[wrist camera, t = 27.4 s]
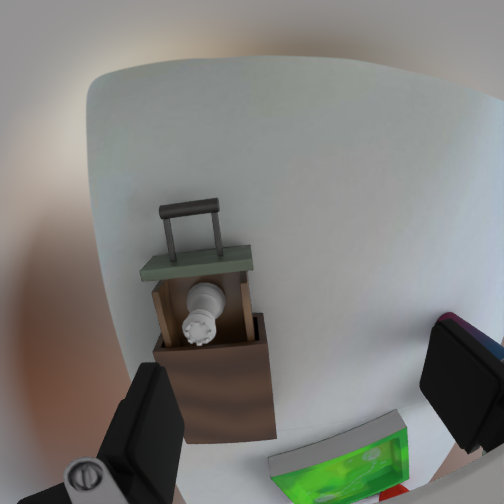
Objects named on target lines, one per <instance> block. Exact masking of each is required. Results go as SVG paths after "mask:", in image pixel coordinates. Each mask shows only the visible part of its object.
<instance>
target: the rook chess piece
mask: <svg viewBox="0 0 504 504" xmlns="http://www.w3.org/2000/svg"><path fill="white" fill-rule="evenodd" d="M186 302H187V309H188V310H189V312H190V314H189V315H188V317H187V318H186V319H185V320H184V322H183V326H182V328H183V333H184V334H185V337H187V338H188V341H189V342H190V343H191V344H192V343H193V342H195V343H197V346H202V343H206V344H207V343H208V342H209V341H211V340H212V339H213V338H214V337H215V334H216V325H215V319H217V318H218V317H219V316H220V315H221V314H222V312H223V310H224V307H225V304H226V302H225V295H224V293H223V292H222V290H221V289H220V288H219V287H217V286H216V285H214V284H211V283H199V284H197V285H195V286H193V287H192V288H191V289H190V291H189V293H188V296H187V300H186Z"/></svg>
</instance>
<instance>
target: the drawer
mask: <svg viewBox="0 0 504 504" xmlns="http://www.w3.org/2000/svg"><path fill="white" fill-rule="evenodd" d="M218 212H219V200H218V198H212V199H204V200H197V201H189V202H182V203H175V204H169V205H162V206H160V207H159V215H160V218H161V219H163V221H164V228H165V234H166V239H167V245H168V251H169V254H167V255H158V256H153V257H152V258H151V259H150V260H149V261H148V262H147V263H146V264H145V265H144V267H143V268H142V269H141V270H140V276H141V280H142V282H144V281H154V280H160V281H159V282H158V284H157V285H156V287H155V288H154V290H153V291H152V297H153V301H154V305H155V309H156V313H157V317H158V321H159V324H160V328H161V332H162V335H163V339H164V343H165V346H166V348H174V347H191V346H197V343H195V342H193V343H192V344H191V343H190V342H189V341H188V338H187V337H185V334H184V333H183V328H182V326H183V322H184V320H185V319H186V318H187V317H188V315H189V314H190V312H189V310H188V309H187V302H186V300H187V296H188V293H189V291H190V289H191V288H192V287H193V286H195V285H197V284H199V283H211V284H214V285H216V286H217V287H219V288H220V289H221V290H222V292H223V293H224V295H225V302H226V304H225V307H224V310H223V312H222V314H221V315H220V316H219V317H218V318H217V319H215V325H216V334H215V337H214V338H213V339H212V340H211V341H209V342H208V343H207V344H206V343H202V346H206V345H218V344H230V343H240V342H250V341H256V339H255V331H254V323H253V315H252V307H251V299H250V290H249V282H248V274H247V271H248V270H253V262H252V253H251V245H244V246H235V247H227V248H222V241H221V233H220V226H219V218H218ZM205 213H211V214H212V222H213V229H214V236H215V244H216V249H209V250H201V251H192V252H184V253H175V247H174V241H173V235H172V229H171V223H170V218H175V217H182V216H189V215H197V214H205Z"/></svg>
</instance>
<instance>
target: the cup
mask: <svg viewBox="0 0 504 504" xmlns="http://www.w3.org/2000/svg"><path fill="white" fill-rule="evenodd" d="M447 318H451V319H453V320H454V321H455V322H457V323H458V324H459V325H460V326H461V327H462V328H464V329H465V330H466V331H467V332H468V333H470V334H471V335H472V336H473V337H474V338H475V339H477V340H478V341H479V342H480V343H481V344H482V345H483V346H485V347H486V348H487V349H488V350H489V351H490V352H491V353H492V354H494V355H495V356H496V357H497V358H498V359H499V360H500V361H501V362H502V363H503V364H504V347H503V346H501V345H500V344H498V343H497V342H495V341H494V340H493V339H491V338H490V337H488V336H487V335H485V334H484V333H482V332H481V331H480V330H478V329H477V328H475V327H474V326H472V325H471V324H469V323H468V322H466V321H465V320H463V319H462V318H460V317H459V316H457V315H456V314H454V313H452V312H447V313H445V314H443V315H442V316H441V317H440V318H439V319H438V320H437V321H440V320H444V319H447Z"/></svg>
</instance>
